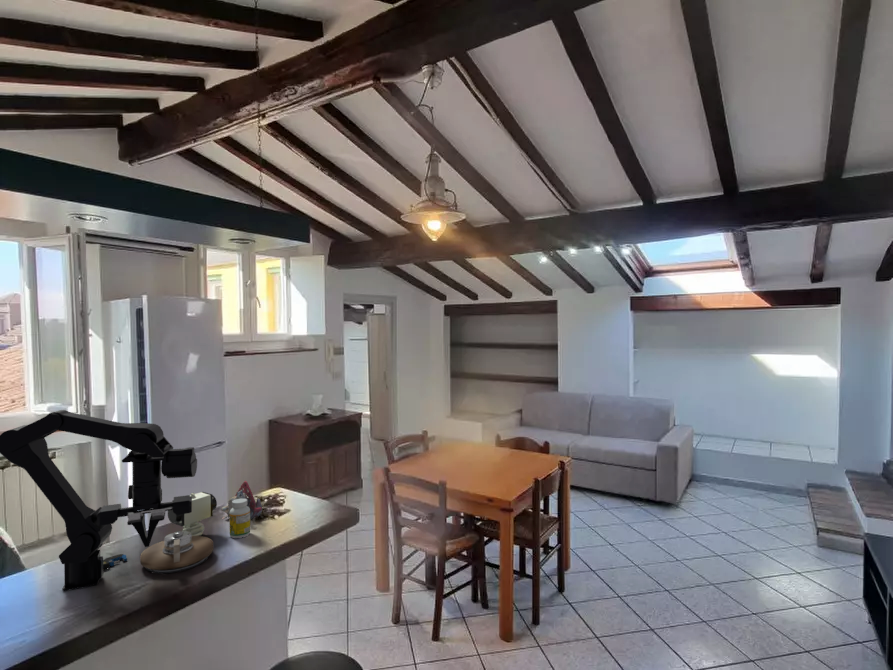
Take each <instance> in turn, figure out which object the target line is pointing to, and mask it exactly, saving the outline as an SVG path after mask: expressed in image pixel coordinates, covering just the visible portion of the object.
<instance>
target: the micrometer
mask: <svg viewBox="0 0 893 670" xmlns="http://www.w3.org/2000/svg"><path fill="white" fill-rule="evenodd" d="M121 561H122V562H126V561H128V558H127V554H124V553H121V554H116V555H112V556H109V557H106V558H103V569H106V570H108V569H107V568H109V569H110V568H111V567H114V566H115V564H119V563H120V562H121ZM110 566H111V567H110Z"/></svg>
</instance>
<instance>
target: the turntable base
mask: <svg viewBox="0 0 893 670" xmlns="http://www.w3.org/2000/svg"><path fill="white" fill-rule="evenodd" d="M209 557H210V555H209V556H208V557H206V558H204V559H203V560H201V561H198V562H196V563H193V564H191V565H187V566H184V567H179V568H174V569H164V570H155V569H148V568H145V570H146V571H147V570H148V572H150V573H152V572H153V574H158V575H159V574H160V575H162V574H161V573H163V575H164V574H165V575H166V574H174V573H179V572H183V571H187V570H190V569H193V568H196V567H198V566H200V565H201V564H202V563H203V564H204V563H205V562H206V561H207V560H208V559H209Z"/></svg>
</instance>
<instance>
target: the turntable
mask: <svg viewBox="0 0 893 670" xmlns="http://www.w3.org/2000/svg"><path fill="white" fill-rule="evenodd" d="M192 543H193V548H192V549H191V550H189V551H187V552H184V553H181V554H180V539H177V540H174V555H166V554H164V553H163V548H164V540H162V541H160V542H159V541H158V542H156V543H154V544H151V545H149V547H146V548H145V549H144V550H143V551H142V552H141V554H140V562H139V563H140V565H141V566H142V567H143V568H145V569H146V568H148V569H155V570H164V569H174V568H179V567H184V566H187V565H191V564H193V563H196V562H198V561H201V560H203V559H204V558H206V557H208V556H209V557H210V555H211V554H212V553H213V552H214V541H213V540H212V539H211V538H209V537H207V536H202V535H201V536H192ZM209 557H208V558H209Z"/></svg>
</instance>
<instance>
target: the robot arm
mask: <svg viewBox="0 0 893 670" xmlns="http://www.w3.org/2000/svg"><path fill="white" fill-rule="evenodd" d="M58 431H60V432H66V433H70V434H75V435H81V436H87V437H90V438H95V439H99V440H100V439H101V440H105V441H111V442H114V443H116V444H118V445H119V446H121V447H123V448H125V449H127V450H130V451H129V452H128V454H127V455H126V456H125V457H124V458H123V459H121V463H132V484H131V485H130V484H129V485H128V490H127V499H128V500H132V506H128V507H127V506H126V507H122V504H121V503H115V504H108V505H103V506H99V507H98V508H97V509H96V510H95V509H93V508H91V507H89V506H88V505H86V503H85V502H84V500H83V499H82V498H81V496H79V494H78V493H77V491H76V490H75V489H74V488H73V486H72V485H71V484H70V482H69V481H68V479H67V478H66V477H65V476H64V475H63V473H62V471H61V470H60V469H59V467H58V466H57V465H56V463H55V461H53V460H52V458H51V457H50V455H49V448H48V443H47V440H46V438H47V437H49V436H50V435H52V434H54V433H56V432H58ZM164 435H165V434H164V431H163V429H162V428H161V426H160V425H159V424H156V423H149V422H147V423H146V422H133V423H132V422H129V423H127V422H119V421H114V420H113V421H112V420H108V419H104V418H98V417H94V416H89V415H85V414H80V413H77V412H70V411H68V410H66V409H61V410H60V409H58V410H56V411H53V412H52V411H51V412H49V413H48V414H47V415H46V416H44V417H41V418H40V419H38V420H35V421H34V422H31V423H29V424H26V425H25V424H24V425H20V426H18V427H15V428H14V427H13V428H11V429H9V430H6V431H3V432H2V433H1V434H0V455H1V456H2V457H4V458H5V459H6V460H7V461H8V462H9V463H11V464H13V465H15V466H17V467H19V468H21V469H23V470H24V471H25V472H26V473H27V474H28V475H29V477H30V478H31V479H32V480H33V482H34V484H35V485H36V486H37V487H38V488H39V491H41V492H42V494H43V496H45V497H46V499H47V500H48V501H49V503H50V504H51V505H52V506H53V508H54V509H55V510H56V513H58V515H59V516H60V518H62V519H63V522H64V523H65V524H64V526H65V532H66V536H67V539H68V541H69V542H70V545H68V546H67V547H66V548H65V549H64V550H63V551H62V552H61V553H59V555H58V558H59V560H60V563H61V565H64V567H63V568H64V569H63V570H64V578H63V579H64V584H63V587H62V591H63V592H66V591H70V590H69V589H72V590H76V589H75V588H77V589H82V587H83V588H87V587H92V586H97V585H98V584H99V582H100V579H102V578H103V576H104V570H103V560H104V556H101V549H100V548H101V547H103V543H105V542H106V540H107V539H108V538H109V537H110V535H111V534H112V531H113V524H114V523H116V521H118V518H122V517H127V519H128V520H127V524H126V525H127V526H133V528H134V529H135V531H136V532H137V534H138V535H139V538H140V540H141V542H142V544H143V546H144V548H148V547H150V546H151V545H150V544H151V541H152V538H153V535H154V533H155V530H156V528H157V526H158V524H159V522H161V521H164V520H165V517H166V512H168V511H169V510H173V513H175V514H176V515H180V514H187V513H191V512H192V497H191V496H190V495H191V494H189V495H188V494H187V495H179V496H174V497H173V500H172V501H173V502H172V501H169V502H162V501H163V489H162V475H163V477H166V478H167V479H178V478H179V479H180V478H182V479H183V478H194V477H196V473H197V469H198V459H197V454H196V451H195V447H191V446H190V447H185V448H174V446H173V445H172V444H171V442H169V440H168V439H167V438H166V437H165V436H164ZM146 514H147V515H148V514H150V518H149V523H148V530H147V527H146V518H145V517H146ZM65 590H66V591H65Z"/></svg>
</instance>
